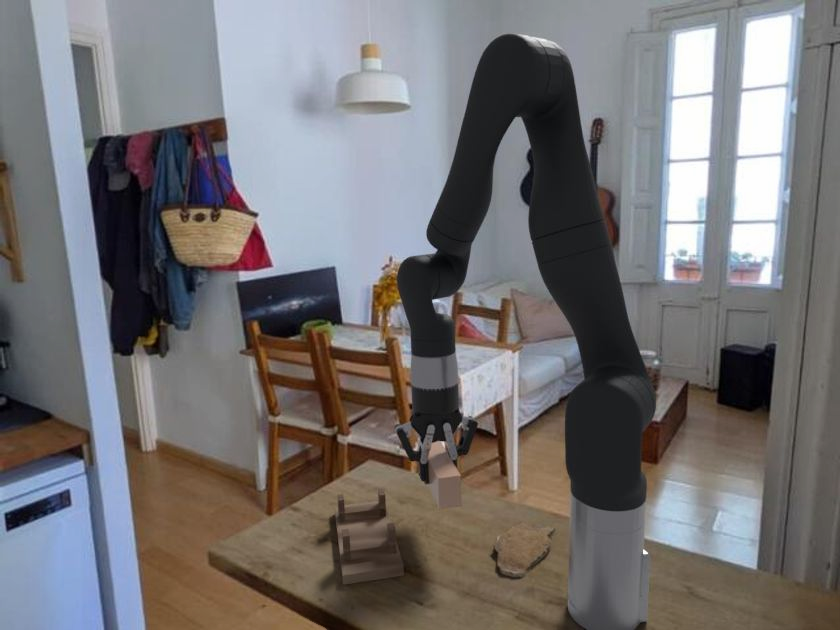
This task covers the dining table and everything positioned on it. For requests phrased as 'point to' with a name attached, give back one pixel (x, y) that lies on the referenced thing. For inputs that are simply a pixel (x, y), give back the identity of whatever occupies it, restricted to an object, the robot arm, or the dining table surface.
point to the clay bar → (443, 477)
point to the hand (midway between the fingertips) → (438, 480)
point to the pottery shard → (522, 547)
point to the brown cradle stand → (367, 541)
